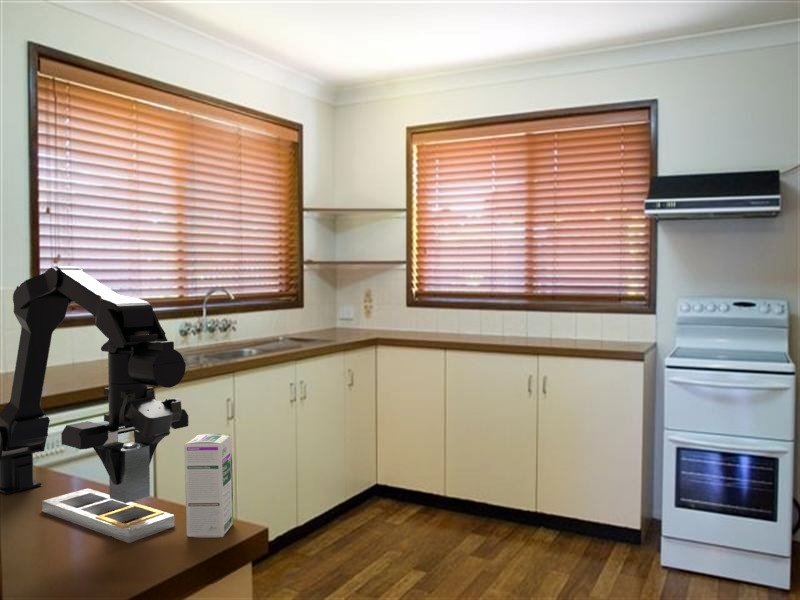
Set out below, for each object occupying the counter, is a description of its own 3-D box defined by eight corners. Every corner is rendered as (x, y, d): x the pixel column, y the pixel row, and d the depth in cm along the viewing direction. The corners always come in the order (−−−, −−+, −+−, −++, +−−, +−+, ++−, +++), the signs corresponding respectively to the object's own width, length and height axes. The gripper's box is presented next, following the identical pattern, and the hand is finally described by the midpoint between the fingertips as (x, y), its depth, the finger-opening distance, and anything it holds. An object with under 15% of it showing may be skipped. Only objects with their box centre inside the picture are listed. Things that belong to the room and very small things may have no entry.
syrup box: (223, 537, 99) (222, 442, 99) (184, 537, 100) (183, 441, 99) (234, 523, 105) (233, 433, 105) (197, 523, 105) (196, 433, 105)
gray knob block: (109, 498, 103) (109, 446, 103) (133, 491, 107) (133, 440, 106) (125, 503, 101) (125, 450, 101) (149, 495, 104) (149, 444, 104)
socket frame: (42, 511, 111) (42, 499, 111) (87, 498, 117) (87, 487, 117) (128, 543, 97) (128, 529, 97) (174, 526, 104) (174, 513, 104)
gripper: (102, 395, 91) (103, 507, 91) (210, 378, 106) (211, 474, 107) (58, 387, 97) (60, 493, 98) (166, 372, 113) (167, 463, 113)
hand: (129, 480), depth 104 cm, fingers closed on gray knob block, 4 cm apart
